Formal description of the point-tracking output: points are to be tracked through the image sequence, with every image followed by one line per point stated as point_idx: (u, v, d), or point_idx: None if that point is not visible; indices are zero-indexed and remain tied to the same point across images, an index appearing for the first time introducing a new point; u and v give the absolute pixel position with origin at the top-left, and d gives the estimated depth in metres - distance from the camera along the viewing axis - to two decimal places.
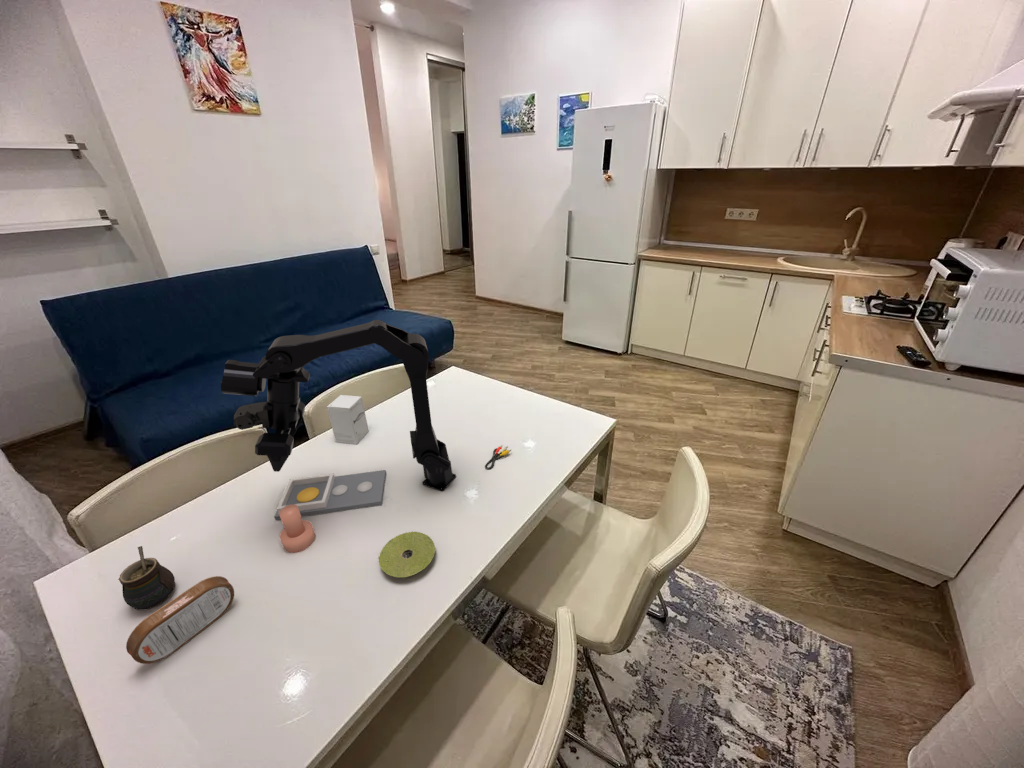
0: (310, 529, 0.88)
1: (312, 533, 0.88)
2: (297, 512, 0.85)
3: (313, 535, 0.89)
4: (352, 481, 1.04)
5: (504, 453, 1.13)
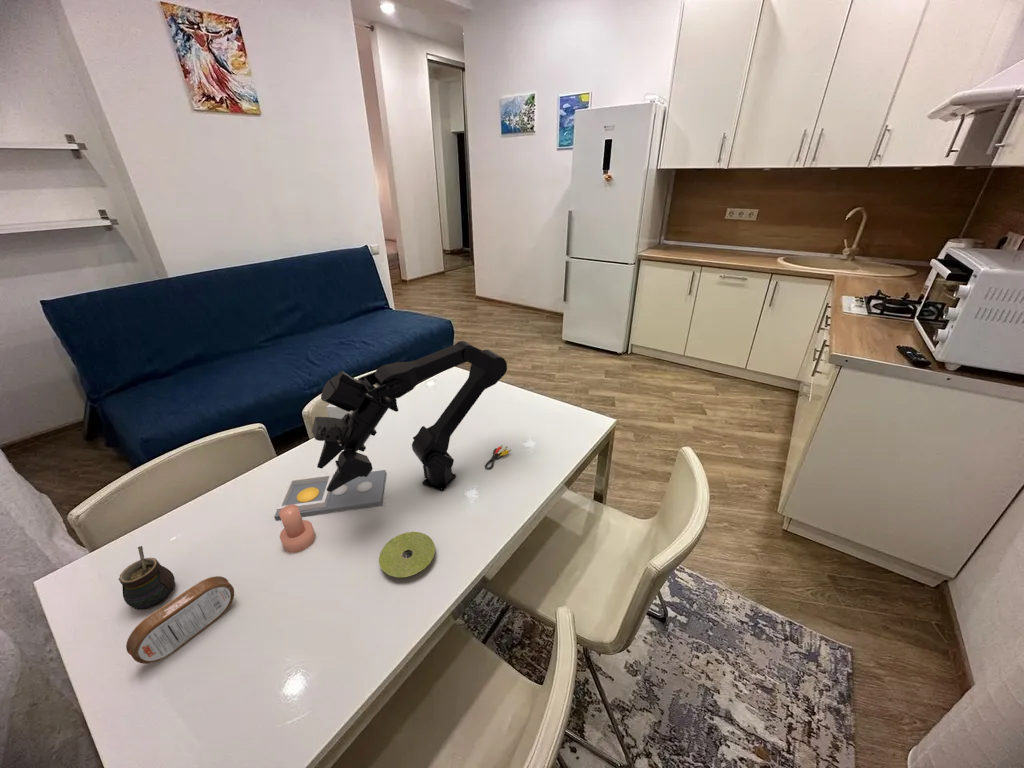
0: (310, 529, 0.88)
1: (312, 533, 0.88)
2: (297, 512, 0.85)
3: (313, 535, 0.89)
4: (352, 481, 1.04)
5: (504, 453, 1.13)
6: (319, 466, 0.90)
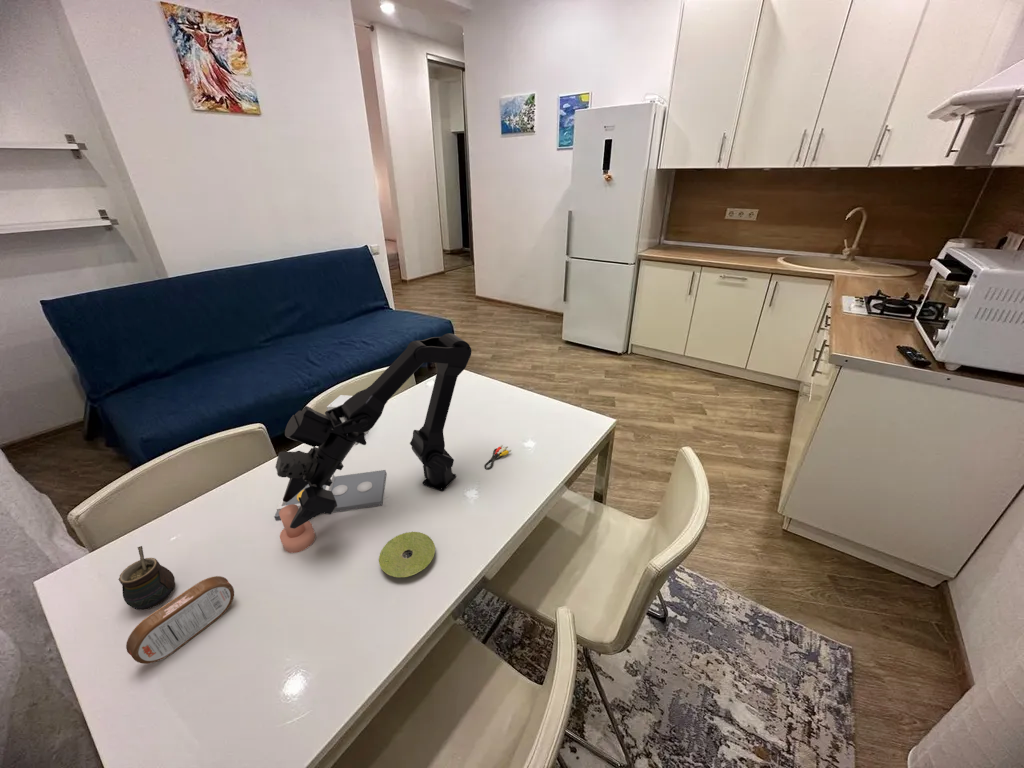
0: (310, 529, 0.88)
1: (312, 533, 0.88)
2: None
3: (313, 535, 0.89)
4: (352, 481, 1.04)
5: (504, 453, 1.13)
6: (285, 500, 0.88)
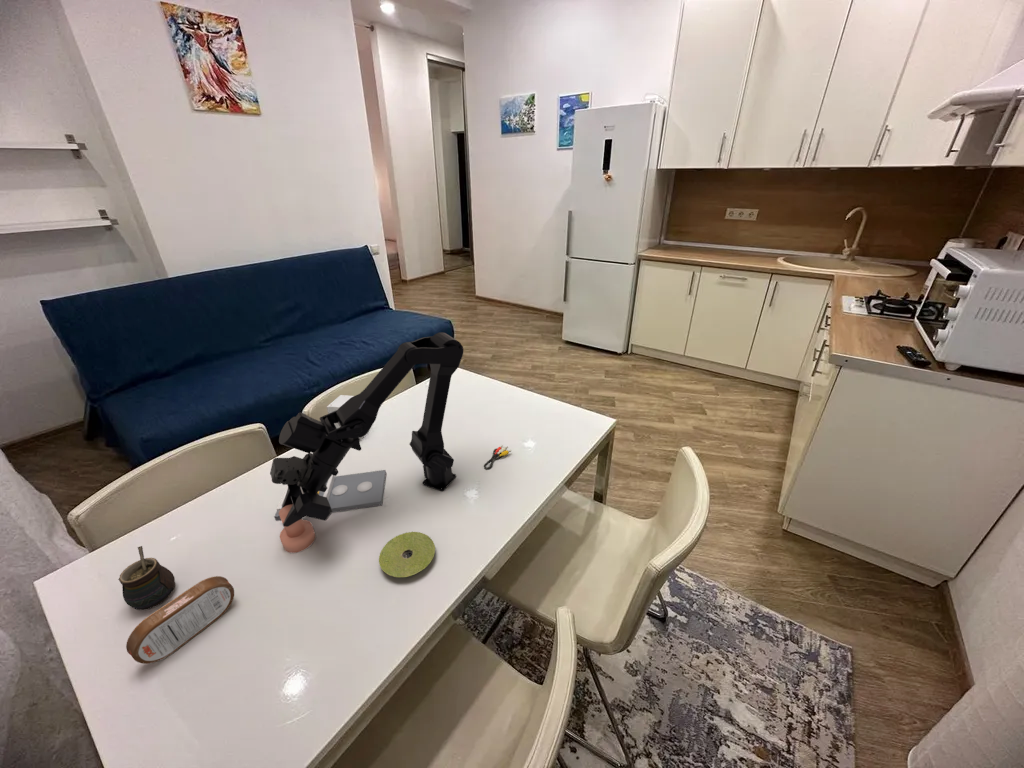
0: (310, 529, 0.88)
1: (312, 533, 0.88)
2: None
3: (313, 535, 0.89)
4: (352, 481, 1.04)
5: (504, 453, 1.13)
6: None
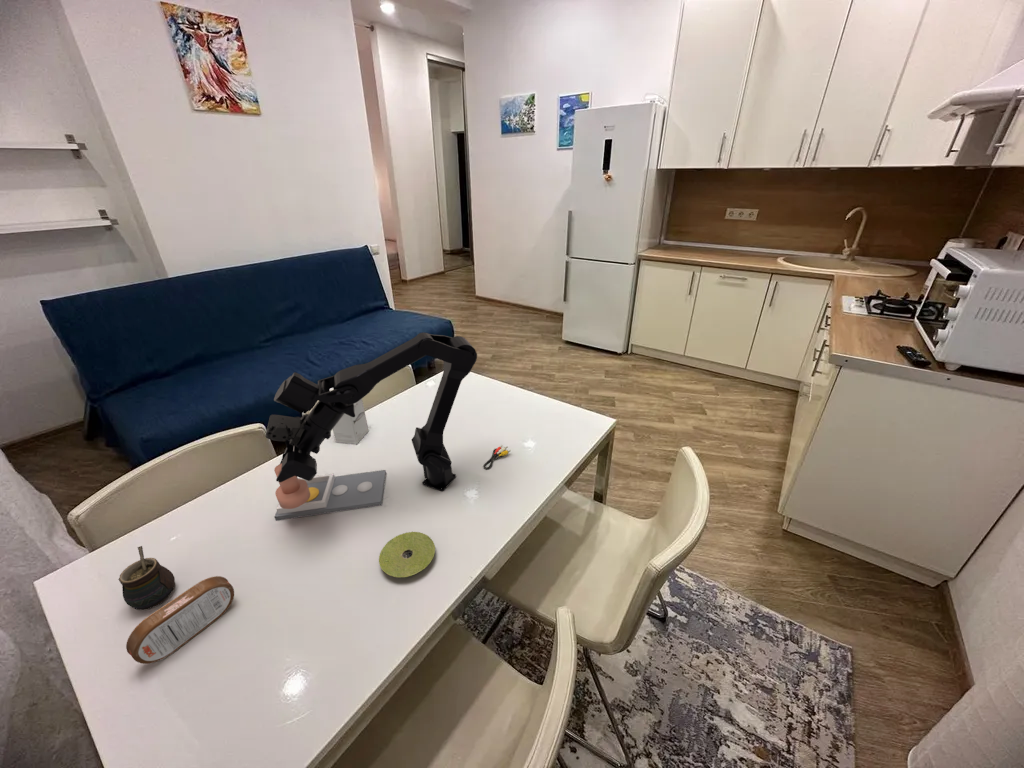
0: (304, 488, 0.90)
1: (305, 493, 0.91)
2: None
3: (306, 495, 0.91)
4: (352, 481, 1.04)
5: (503, 453, 1.13)
6: None
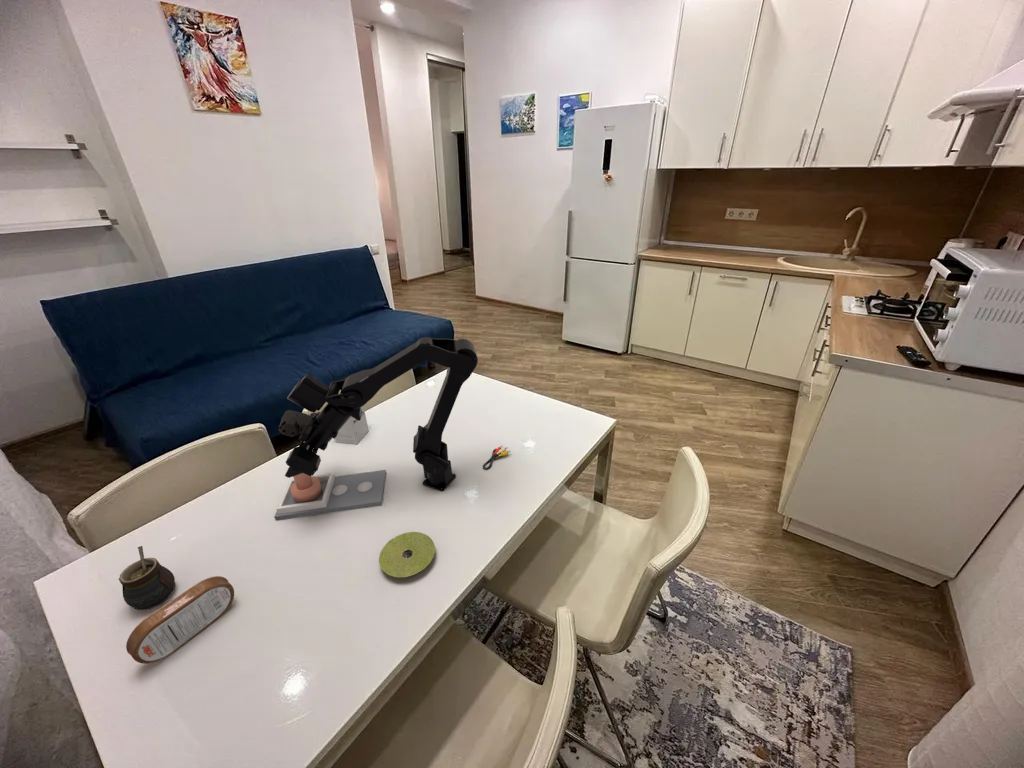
0: (315, 486, 0.98)
1: (316, 490, 0.98)
2: None
3: (317, 492, 0.98)
4: (352, 481, 1.04)
5: (503, 454, 1.13)
6: None
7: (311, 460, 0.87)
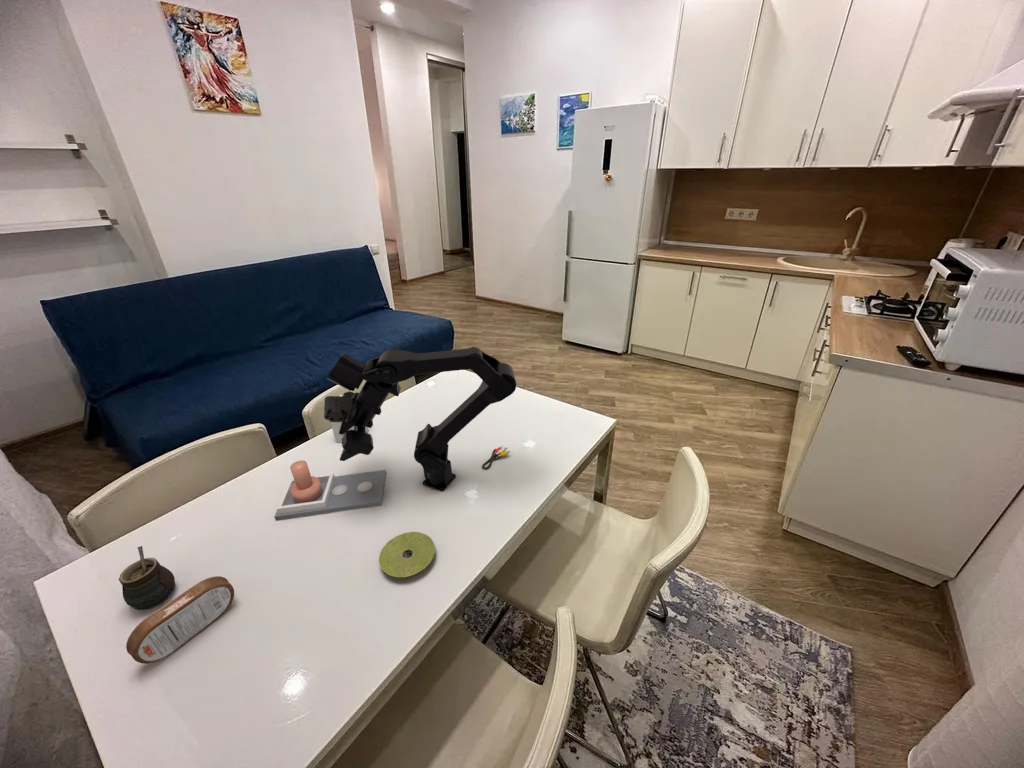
0: (315, 486, 0.98)
1: (316, 490, 0.98)
2: (304, 469, 0.95)
3: (317, 492, 0.98)
4: (352, 481, 1.04)
5: (502, 454, 1.13)
6: (340, 433, 1.01)
7: (366, 440, 0.89)
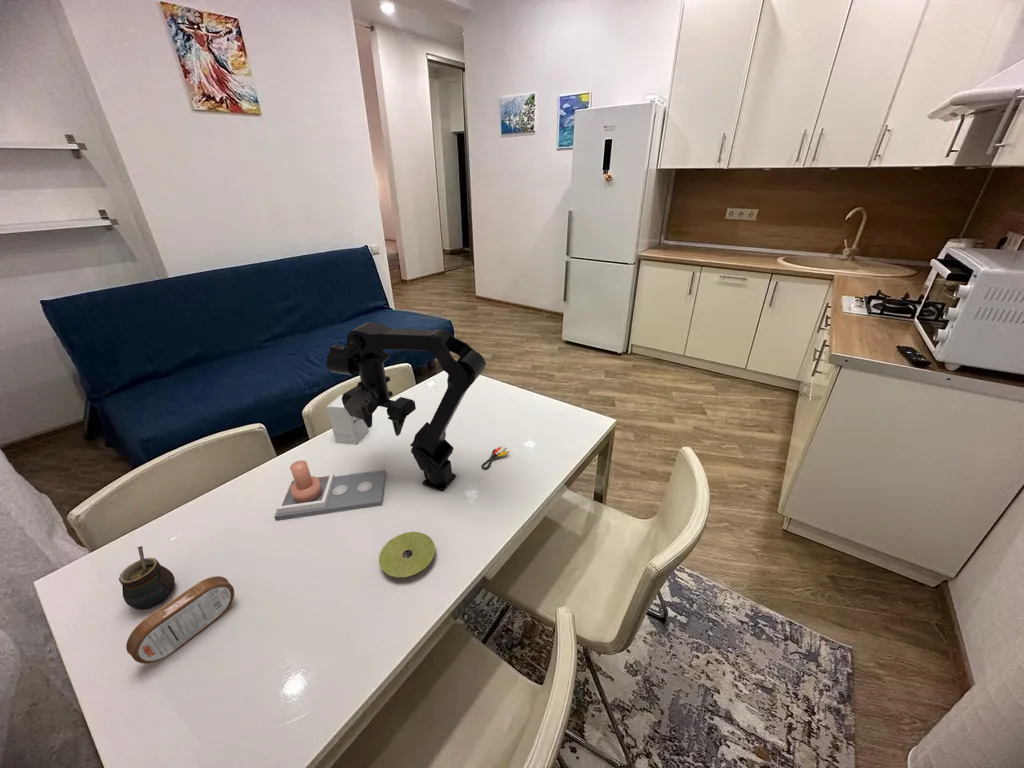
0: (315, 486, 0.98)
1: (316, 490, 0.98)
2: (304, 469, 0.95)
3: (317, 492, 0.98)
4: (352, 481, 1.04)
5: (502, 454, 1.13)
6: (369, 426, 1.05)
7: (405, 401, 0.96)
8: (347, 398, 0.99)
